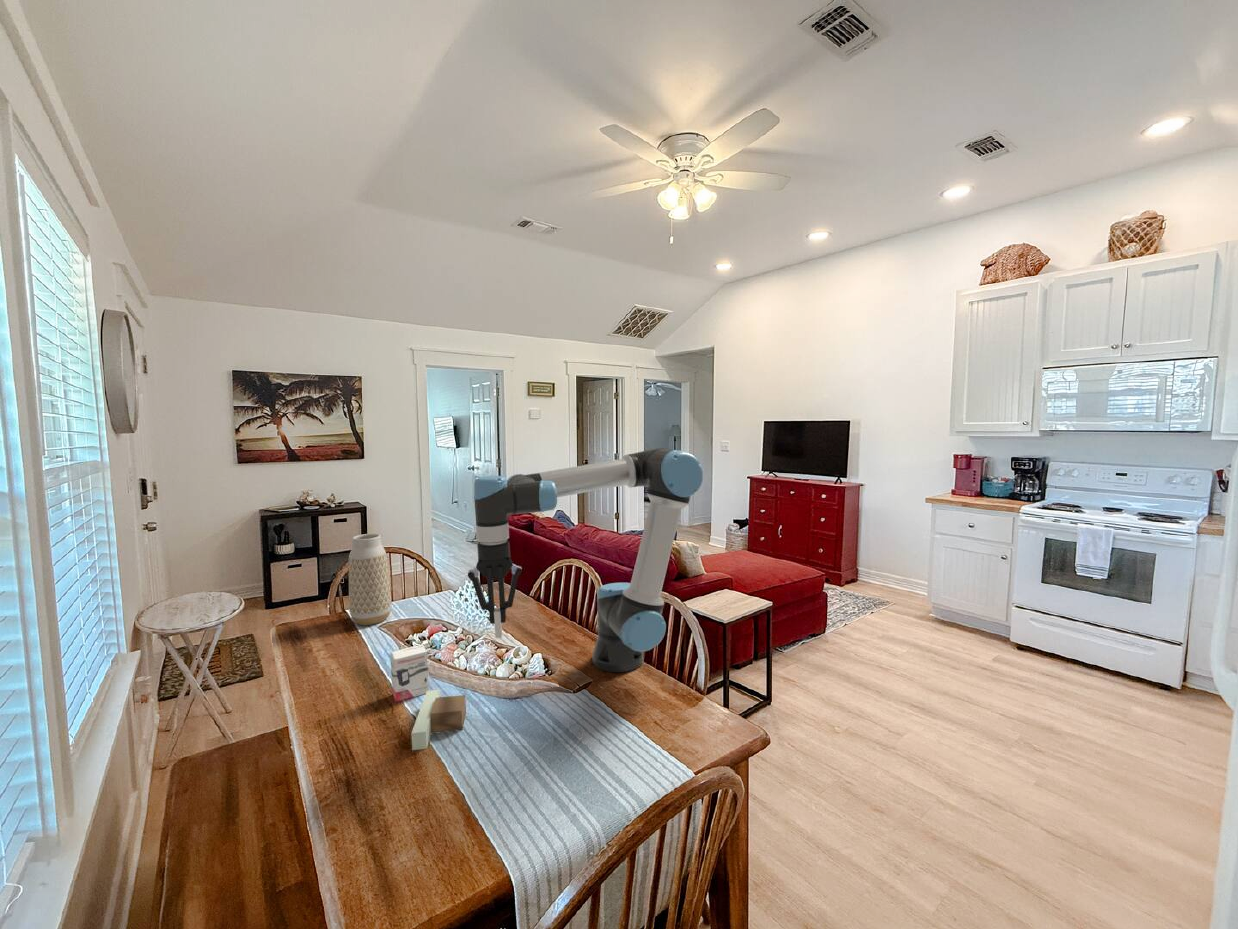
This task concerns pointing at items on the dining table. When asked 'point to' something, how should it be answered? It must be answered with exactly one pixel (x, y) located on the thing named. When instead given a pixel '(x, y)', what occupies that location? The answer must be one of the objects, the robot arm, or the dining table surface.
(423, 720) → the board
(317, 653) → the dining table surface
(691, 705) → the dining table surface
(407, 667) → the ink box
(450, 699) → the push block
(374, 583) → the vase
